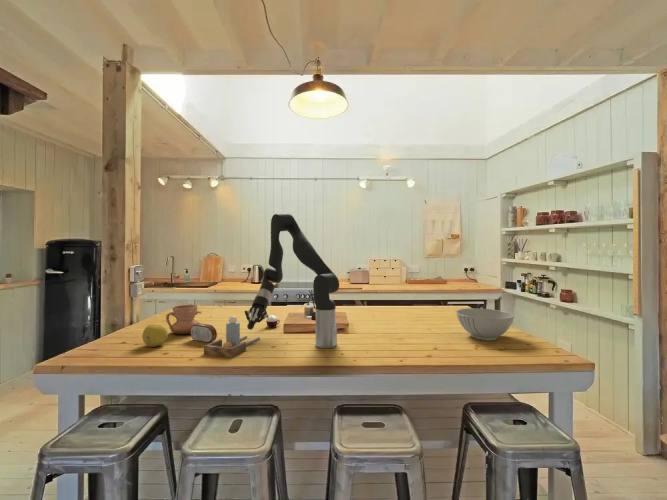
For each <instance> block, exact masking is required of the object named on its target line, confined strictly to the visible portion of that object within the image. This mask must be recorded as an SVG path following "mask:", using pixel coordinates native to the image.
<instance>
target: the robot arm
mask: <svg viewBox="0 0 667 500" xmlns="http://www.w3.org/2000/svg"><path fill="white" fill-rule="evenodd" d="M281 232H288V233H289V234H290V235H291V237H292V251H293V253H294V254H295V256H296V258H297V259H298V260H299V262H300V263H301V264H303V265H304V266H305V267H307V268H309V269H310V270H311V271H312V272H314V273H315V274H316V276H315V277H314V280H313V283H312V285H313V286H312V287H313V288H312V289H313V291H312V292H313V302H314V305H315V347H317V348H320V349H333V348H335V347H336V346H337V344H338V340H337V339H338V335H337V334H338V325H337V324H336V302H335V301H333V300H331V299H330V294H332V293H336V292H337V291H338V290H339V289H340V280H339V278H338V276H337V275H336V274H335V272H333V271H332V269H331V268H329V266H328V265H327V264H326V263H325V261H324V260H323V259H322V257H321V256H320V255H319V254H318V252H317V251H316V249H315V248H314V246H313V245H312V244H311V242H310V241H309V239H307V237H306V236H305V234H304V232H303V231H302V229H301V227H300V226H299V224H298V223H297V221H296V219H295V217H294V216H293V215H292V214H291V213H289V212H285V213H283V212H281V213H279V212H278V213H274V214H273V215H272V216H271V220H270V251H269V257H268V258H269V259H268V265H269V266H270V267H266V268H265V269H264V271H263V275H262V283H261V286H260V287H259V290H258V292H256V293H257V294H256V295H255V298H253V299H254V300H253V302H252V304H251V307H250V308H249V310H244V316H245V318H246V321H247V322H248V324H247V329H248V330H253V329H254V327H255V325H256V324H257V323H260V322H262V321H263V320H266V318H267V316H268V315H269V314H268V313H266V312H267V308H268V306H269V304H270V302H271V298H272V295H273V293H274V290H275V286H276V285H275V284H274V283H276V284H279V283H281V282H282V280H283V276H284V274H283V267H282V265H283V264H282V263H283V256H284V249H283V246H282V244H281V242H280V234H281Z"/></svg>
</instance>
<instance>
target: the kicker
mask: <svg viewBox="0 0 667 500" xmlns="http://www.w3.org/2000/svg"><path fill="white" fill-rule="evenodd" d="M237 321H238V318H237V316H235V315H230V316H229V318H228V322H227V323H226V324H225V326H226V329H225V334H226V336H225V338H226V339H225V340H226V341H225V342H231V343H232V347H234V346H236V345H238V344H240V343H241V341H240V338H241V335H240V334H241V330H240V329H241V327H240V326H241V325H240V322H237Z"/></svg>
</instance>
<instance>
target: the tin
mask: <svg viewBox="0 0 667 500" xmlns="http://www.w3.org/2000/svg"><path fill="white" fill-rule="evenodd" d="M190 333H191V334H190V337H191V338H192V339H193V341H196V342H201V343H207V344H210V343H212V342H214V341H217V337H218V332H217V329H216V327H214V326H213V325H212V324H207V323H200V322H199V323H197V324H194V325H193V326H192V327H191V328H190Z"/></svg>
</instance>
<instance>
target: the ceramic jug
mask: <svg viewBox="0 0 667 500" xmlns="http://www.w3.org/2000/svg"><path fill="white" fill-rule="evenodd" d="M198 306H199V305H197V304H194V303H193V304H192V303H191V304H181V305H173V306H172V311H171V312H167V314H166V316H165V321H166V323H167V325H168V326H169V327H168V328H169V330H170V332H171V333H173V334H175V335H189V334H190V335H191V333H190V328H191V327H192V326H193V325H194V324H197V323H200V322H199V321H198V320H195V317H196V315H198V314H202V313H203V311H202V310H198V309H199V307H198ZM170 316H172V317H175V319H176V321H175V322H174V323H173V324H171V321H170Z"/></svg>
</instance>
